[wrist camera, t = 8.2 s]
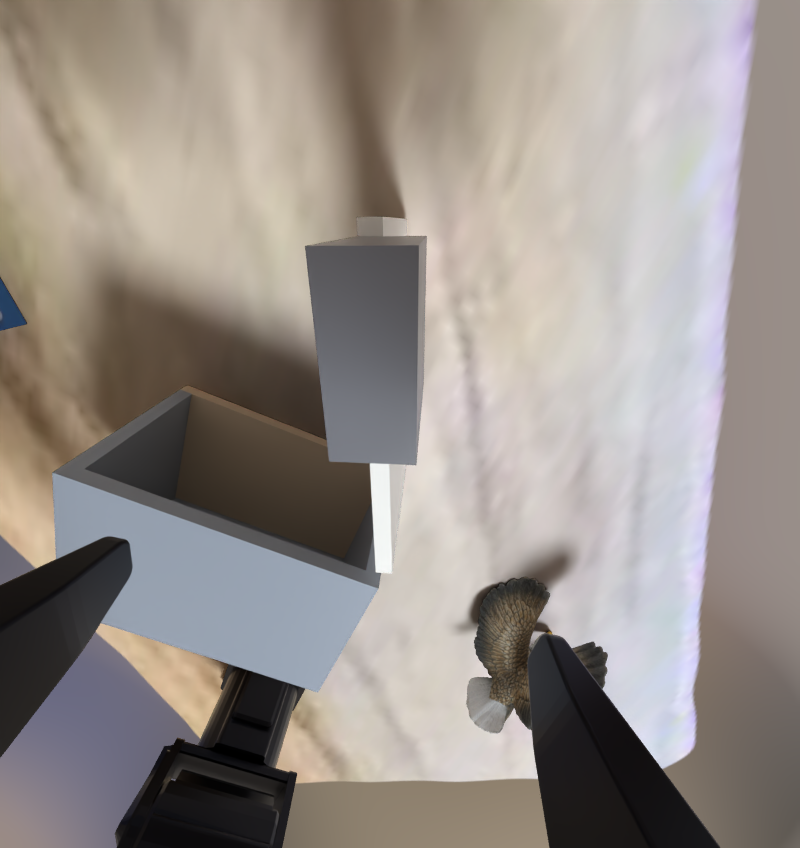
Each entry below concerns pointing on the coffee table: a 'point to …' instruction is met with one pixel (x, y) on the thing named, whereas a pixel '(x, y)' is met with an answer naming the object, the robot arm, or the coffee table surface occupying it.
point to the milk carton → (9, 310)
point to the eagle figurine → (514, 654)
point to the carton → (228, 534)
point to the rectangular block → (372, 358)
